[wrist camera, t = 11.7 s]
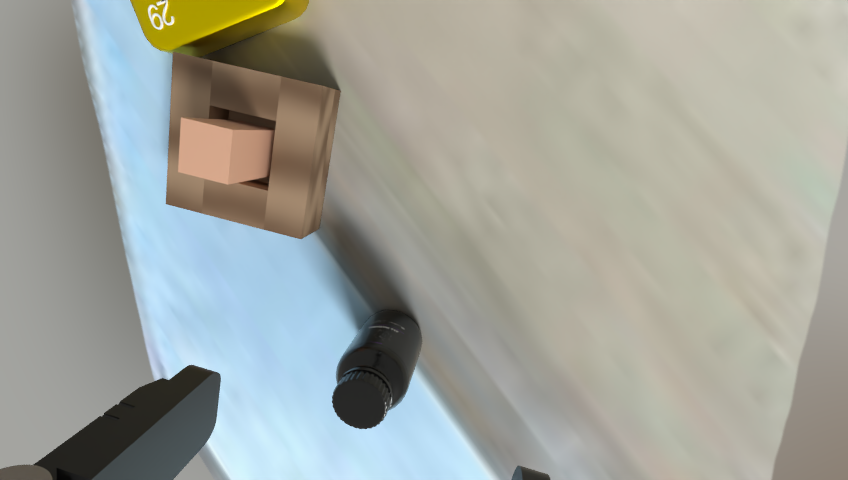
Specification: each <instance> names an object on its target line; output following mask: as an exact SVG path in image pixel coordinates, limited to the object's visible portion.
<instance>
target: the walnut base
mask: <svg viewBox="0 0 848 480" xmlns="http://www.w3.org/2000/svg"><path fill="white" fill-rule="evenodd" d="M340 92H341V91H339V90H335V89H332V88H328V87H325V86H321V85H317V84H313V83H308V82H304V81H299V80H295V79H291V78H286V77H282V76H277V75H273V74H269V73H264V72H260V71H256V70H251V69H247V68H242V67H238V66H234V65H229V64H225V63H220V62H216V61H212V60H207V59H203V58H199V57H194V56H190V55H185V54H181V53H177V52H173V64H172V85H171V106H170V128H169V149H168V171H167V192H166V204H168V205H172V206H176V207H180V208H183V209H187V210H191V211H195V212H199V213H203V214H206V215H210V216H214V217H218V218H222V219H226V220H229V221H233V222H237V223H241V224H245V225H249V226H252V227H256V228H260V229H264V230H268V231H272V232H275V233H279V234H283V235H287V236H291V237H295V238H298V239H302V238H304V237H306V236H307V235H309V234H311V233H313V232H314V231H316V230H318V229H319V227H320V221H321V214H322V208H323V202H324V195H325V189H326V182H327V176H328V169H329V163H330V156H331V150H332V143H333V137H334V131H335V124H336V118H337V111H338V105H339V98H340ZM181 117H185V118H204V119H222V120H239V121H244V122H248V123H252V124H256V125H260V126H264V127H269V128H273V129H275V135H274V144H273V153H272V161H271V170H270V176H269V177H264V178H259V179H254V180H249V181H244V182H239V183H234V184H229V185H227V184H223V183H219V182H215V181H212V180H208V179H204V178H200V177H196V176H192V175H188V174H184V173H180V172H178V163H179V145H180V126H181Z"/></svg>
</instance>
